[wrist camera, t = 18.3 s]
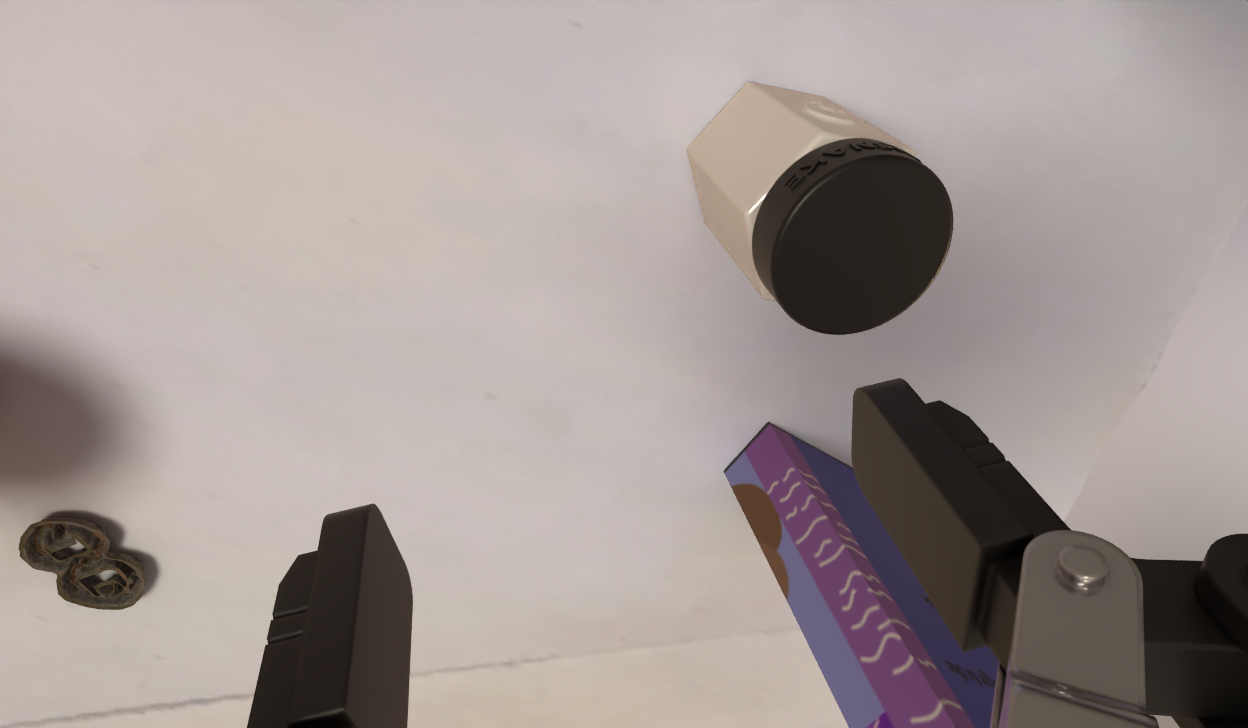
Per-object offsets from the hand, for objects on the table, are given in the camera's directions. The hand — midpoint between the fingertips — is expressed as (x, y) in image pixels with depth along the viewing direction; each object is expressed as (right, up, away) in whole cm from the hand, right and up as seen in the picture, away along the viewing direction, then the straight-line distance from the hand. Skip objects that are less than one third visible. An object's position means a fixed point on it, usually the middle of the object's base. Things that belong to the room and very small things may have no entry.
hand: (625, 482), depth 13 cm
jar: (+7, +13, +29) cm, 33 cm away
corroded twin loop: (-32, -9, +34) cm, 47 cm away
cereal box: (+15, -7, +44) cm, 47 cm away
